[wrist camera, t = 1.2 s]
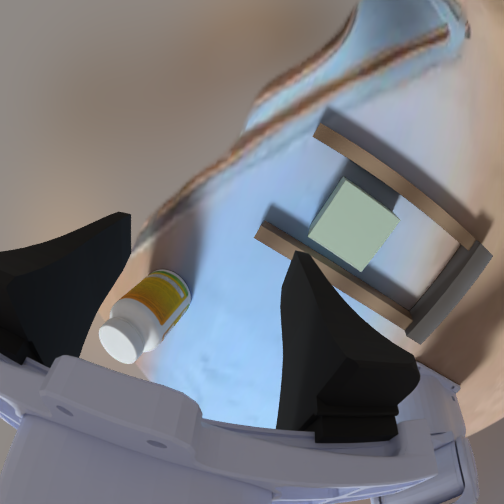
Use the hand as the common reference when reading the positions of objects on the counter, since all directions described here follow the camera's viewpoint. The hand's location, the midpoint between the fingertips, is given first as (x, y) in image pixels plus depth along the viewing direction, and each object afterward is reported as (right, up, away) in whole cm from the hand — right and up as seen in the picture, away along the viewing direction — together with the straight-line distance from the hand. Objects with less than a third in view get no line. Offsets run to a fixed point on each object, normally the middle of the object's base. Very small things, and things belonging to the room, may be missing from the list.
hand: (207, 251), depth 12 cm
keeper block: (+10, +3, +11) cm, 15 cm away
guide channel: (+13, +1, +10) cm, 16 cm away
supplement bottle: (-7, -4, +18) cm, 19 cm away
